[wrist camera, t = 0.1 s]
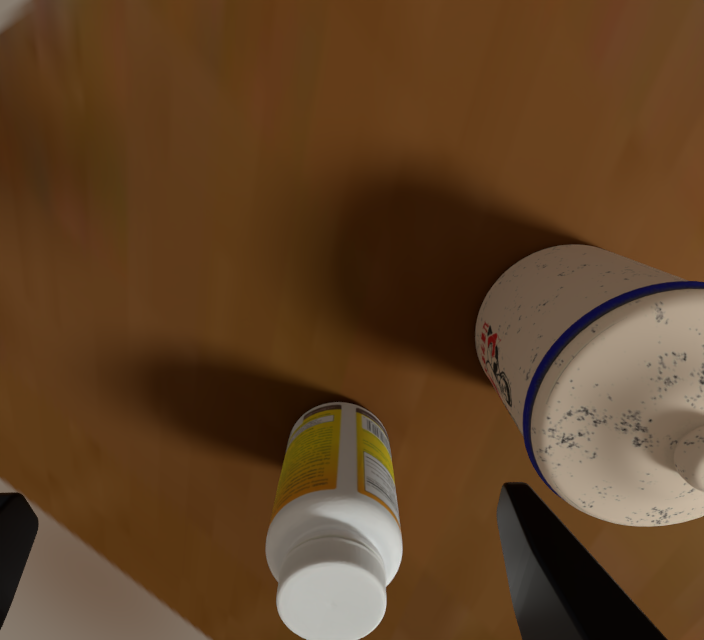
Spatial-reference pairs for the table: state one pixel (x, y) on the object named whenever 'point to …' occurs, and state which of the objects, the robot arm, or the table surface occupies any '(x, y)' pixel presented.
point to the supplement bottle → (335, 524)
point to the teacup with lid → (602, 380)
